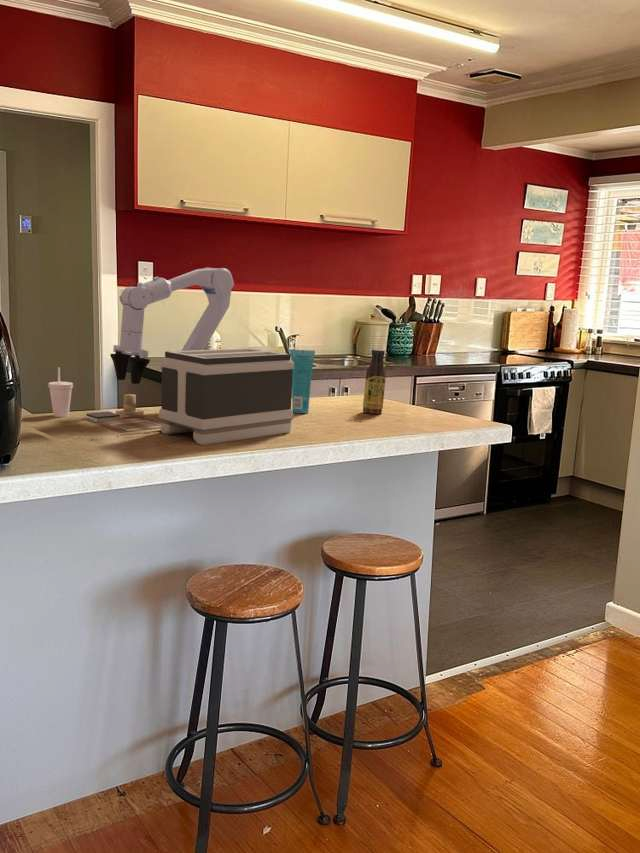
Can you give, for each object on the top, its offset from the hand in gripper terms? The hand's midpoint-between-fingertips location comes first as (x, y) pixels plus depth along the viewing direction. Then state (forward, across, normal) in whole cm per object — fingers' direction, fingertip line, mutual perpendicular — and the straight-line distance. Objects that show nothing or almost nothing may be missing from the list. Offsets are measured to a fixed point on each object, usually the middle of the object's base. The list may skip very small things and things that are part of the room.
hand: (128, 381), depth 213 cm
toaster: (+9, +28, +15) cm, 33 cm away
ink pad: (+10, 0, -7) cm, 12 cm away
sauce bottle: (+5, +27, +71) cm, 76 cm away
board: (+11, +7, -3) cm, 13 cm away
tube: (+7, +15, +51) cm, 54 cm away
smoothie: (+12, -10, -14) cm, 21 cm away
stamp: (+10, 0, +1) cm, 10 cm away
